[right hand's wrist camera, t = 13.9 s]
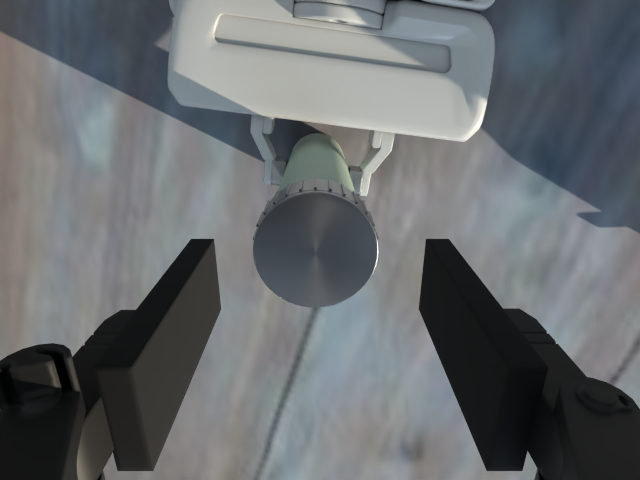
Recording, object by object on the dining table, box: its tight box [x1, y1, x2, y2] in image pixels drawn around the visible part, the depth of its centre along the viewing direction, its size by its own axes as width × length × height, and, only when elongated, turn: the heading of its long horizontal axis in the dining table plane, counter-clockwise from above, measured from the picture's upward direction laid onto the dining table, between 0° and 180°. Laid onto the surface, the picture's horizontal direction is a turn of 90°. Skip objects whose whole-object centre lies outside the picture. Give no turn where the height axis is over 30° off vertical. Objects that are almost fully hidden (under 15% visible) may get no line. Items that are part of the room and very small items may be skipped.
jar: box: [278, 133, 355, 192], centre depth 26 cm, size 4×4×20 cm
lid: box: [253, 177, 378, 307], centre depth 18 cm, size 5×5×2 cm
